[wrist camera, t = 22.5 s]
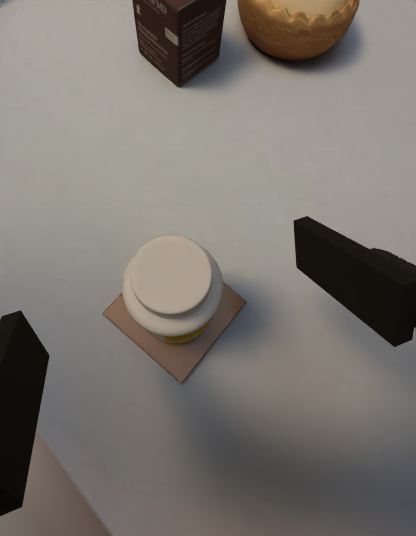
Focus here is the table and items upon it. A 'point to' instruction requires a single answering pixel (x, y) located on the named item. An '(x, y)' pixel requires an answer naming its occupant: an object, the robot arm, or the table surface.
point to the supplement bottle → (172, 288)
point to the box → (179, 34)
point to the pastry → (296, 25)
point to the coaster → (184, 354)
